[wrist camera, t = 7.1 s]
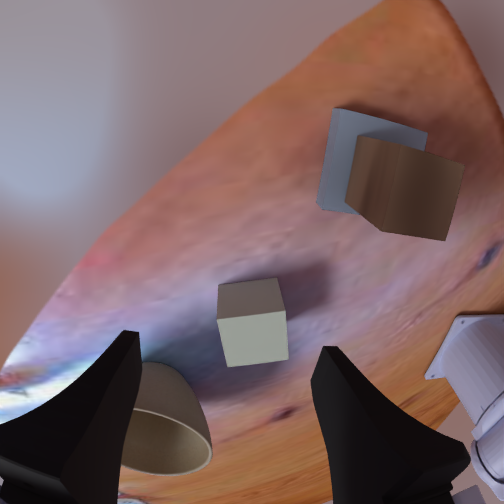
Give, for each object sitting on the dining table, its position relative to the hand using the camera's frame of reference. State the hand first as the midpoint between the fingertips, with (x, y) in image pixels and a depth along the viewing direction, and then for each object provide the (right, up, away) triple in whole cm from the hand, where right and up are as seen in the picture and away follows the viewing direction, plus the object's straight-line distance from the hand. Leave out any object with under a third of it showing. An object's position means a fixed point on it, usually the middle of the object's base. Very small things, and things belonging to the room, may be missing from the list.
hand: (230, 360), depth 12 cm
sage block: (+1, 0, +11) cm, 11 cm away
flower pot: (-7, -7, +14) cm, 17 cm away
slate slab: (+8, +10, +7) cm, 15 cm away
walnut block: (+8, +9, +6) cm, 13 cm away
